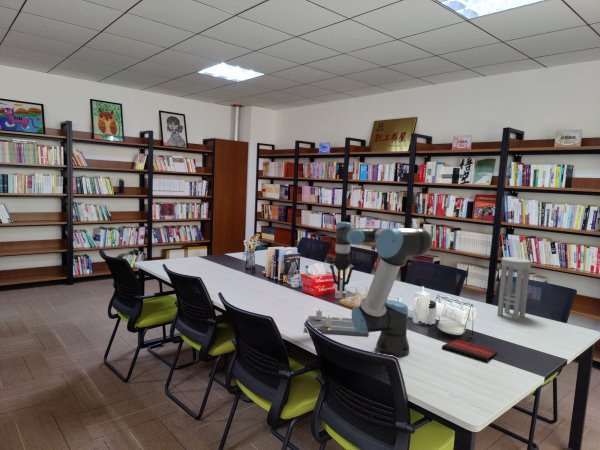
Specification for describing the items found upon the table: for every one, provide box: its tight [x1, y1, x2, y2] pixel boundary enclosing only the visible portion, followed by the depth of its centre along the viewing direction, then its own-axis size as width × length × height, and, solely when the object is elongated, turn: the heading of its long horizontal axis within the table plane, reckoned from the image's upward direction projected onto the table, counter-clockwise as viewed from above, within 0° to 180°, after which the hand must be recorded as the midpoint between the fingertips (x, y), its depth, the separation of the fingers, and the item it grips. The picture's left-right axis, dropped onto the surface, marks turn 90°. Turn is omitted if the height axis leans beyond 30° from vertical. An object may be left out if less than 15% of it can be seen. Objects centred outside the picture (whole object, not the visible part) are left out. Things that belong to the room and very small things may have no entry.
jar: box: [426, 299, 437, 326], centre depth 237 cm, size 9×8×12 cm
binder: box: [441, 339, 498, 364], centre depth 199 cm, size 16×2×21 cm
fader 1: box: [315, 308, 323, 320], centre depth 229 cm, size 4×3×5 cm
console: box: [305, 315, 370, 337], centre depth 224 cm, size 21×32×2 cm, turn 85°
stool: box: [497, 256, 532, 321], centre depth 254 cm, size 16×16×35 cm
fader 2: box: [325, 314, 333, 327], centre depth 219 cm, size 4×3×5 cm
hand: (340, 296), depth 217 cm, fingers closed
